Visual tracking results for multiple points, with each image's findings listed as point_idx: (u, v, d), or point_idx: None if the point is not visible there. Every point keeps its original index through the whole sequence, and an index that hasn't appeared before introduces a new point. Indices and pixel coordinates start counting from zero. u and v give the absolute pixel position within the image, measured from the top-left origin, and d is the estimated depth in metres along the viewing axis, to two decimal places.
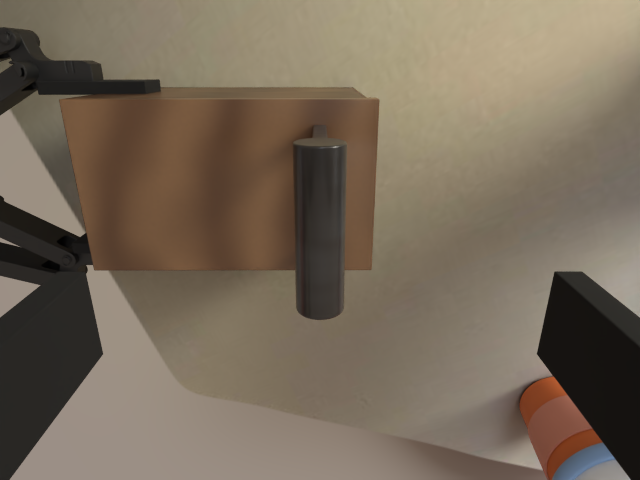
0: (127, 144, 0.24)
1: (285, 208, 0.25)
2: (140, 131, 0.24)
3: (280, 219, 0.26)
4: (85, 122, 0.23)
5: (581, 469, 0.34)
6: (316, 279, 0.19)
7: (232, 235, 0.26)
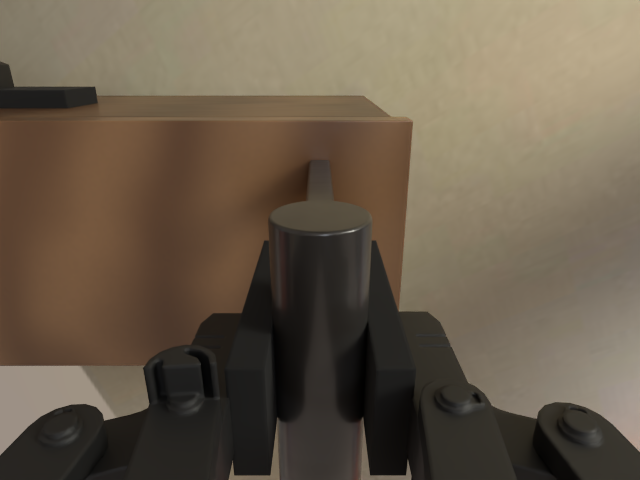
0: (23, 188, 0.16)
1: None
2: (42, 169, 0.15)
3: None
4: None
5: None
6: (313, 456, 0.10)
7: (190, 318, 0.17)
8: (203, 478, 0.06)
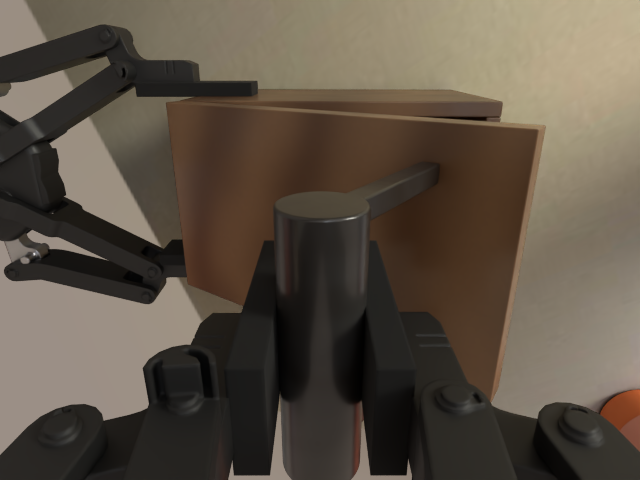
0: (216, 157, 0.21)
1: None
2: (227, 144, 0.20)
3: None
4: (184, 128, 0.21)
5: None
6: (292, 425, 0.11)
7: None
8: (203, 478, 0.06)
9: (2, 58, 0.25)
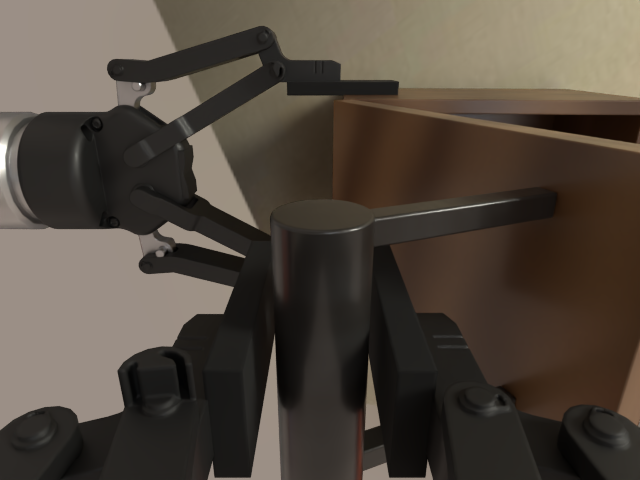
0: (361, 156, 0.21)
1: (474, 309, 0.15)
2: (369, 144, 0.20)
3: (465, 321, 0.15)
4: (342, 125, 0.22)
5: None
6: (279, 430, 0.11)
7: (416, 308, 0.18)
8: (179, 479, 0.06)
9: (161, 58, 0.26)
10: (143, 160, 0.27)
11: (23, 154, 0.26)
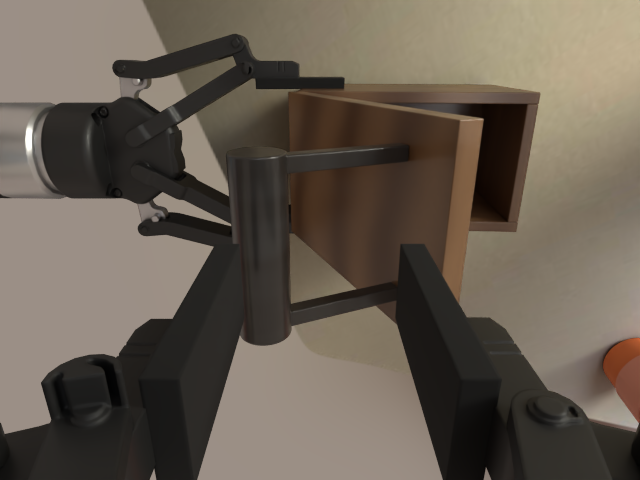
0: (307, 134, 0.28)
1: (375, 232, 0.22)
2: (312, 124, 0.27)
3: (371, 243, 0.22)
4: (295, 111, 0.29)
5: None
6: None
7: (344, 242, 0.25)
8: None
9: (155, 59, 0.32)
10: (141, 141, 0.34)
11: (45, 135, 0.32)
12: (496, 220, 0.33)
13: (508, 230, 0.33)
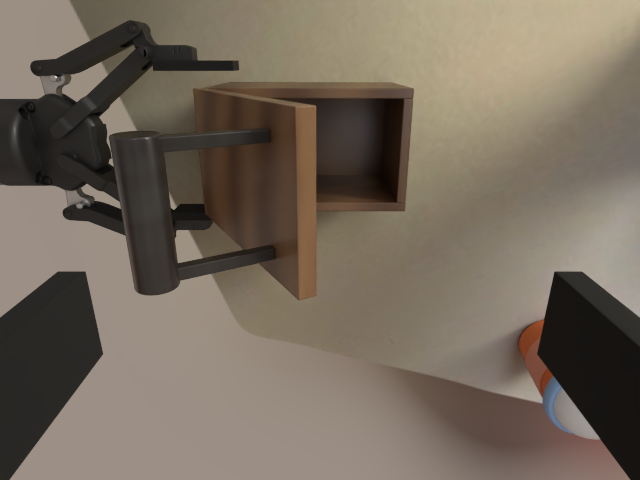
0: (208, 125, 0.31)
1: (257, 205, 0.26)
2: (211, 116, 0.30)
3: (256, 214, 0.26)
4: (199, 105, 0.33)
5: None
6: None
7: (240, 216, 0.29)
8: None
9: (66, 55, 0.36)
10: (64, 133, 0.38)
11: None
12: (387, 201, 0.38)
13: (398, 210, 0.37)
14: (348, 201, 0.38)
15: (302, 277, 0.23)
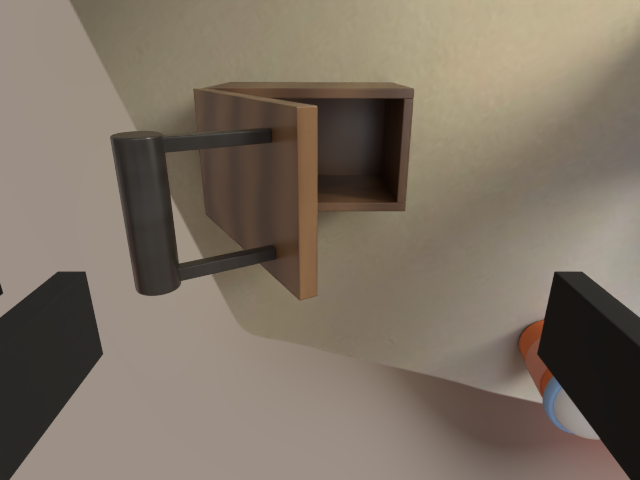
0: (209, 125, 0.31)
1: (258, 205, 0.26)
2: (211, 116, 0.30)
3: (256, 214, 0.26)
4: (199, 106, 0.33)
5: None
6: None
7: (240, 217, 0.29)
8: None
9: None
10: None
11: None
12: (388, 201, 0.38)
13: (398, 210, 0.38)
14: (348, 201, 0.38)
15: (303, 277, 0.23)
